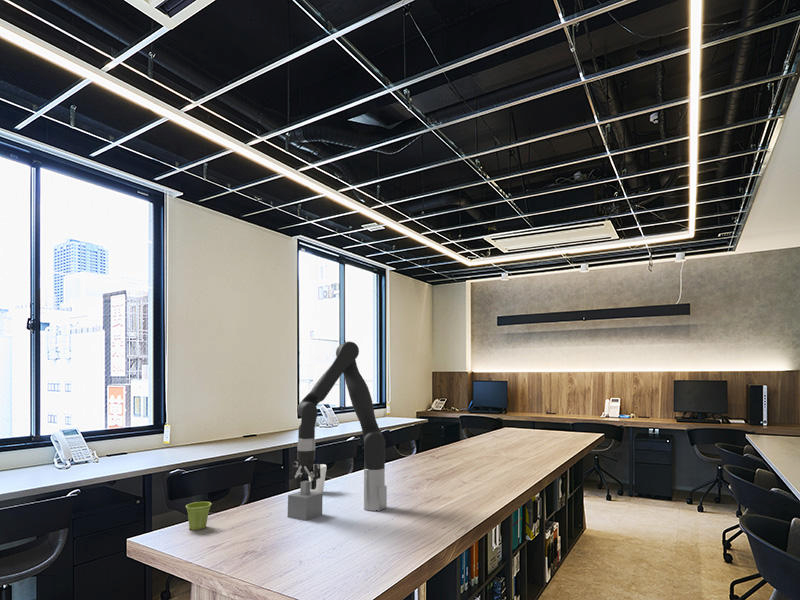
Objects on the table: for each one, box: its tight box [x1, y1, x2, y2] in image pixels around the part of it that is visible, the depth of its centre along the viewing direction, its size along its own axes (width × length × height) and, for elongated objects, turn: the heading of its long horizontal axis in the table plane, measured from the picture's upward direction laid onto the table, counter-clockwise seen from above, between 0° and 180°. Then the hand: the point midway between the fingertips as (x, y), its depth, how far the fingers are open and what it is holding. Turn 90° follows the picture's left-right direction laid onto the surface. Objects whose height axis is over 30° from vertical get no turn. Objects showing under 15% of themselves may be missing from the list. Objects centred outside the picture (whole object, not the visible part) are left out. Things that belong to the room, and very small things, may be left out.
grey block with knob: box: [287, 480, 324, 521], centre depth 214 cm, size 10×10×14 cm
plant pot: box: [185, 501, 212, 531], centre depth 198 cm, size 9×9×9 cm
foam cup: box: [308, 463, 327, 494], centre depth 255 cm, size 10×9×13 cm
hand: (305, 488), depth 215 cm, fingers open, 8 cm apart
